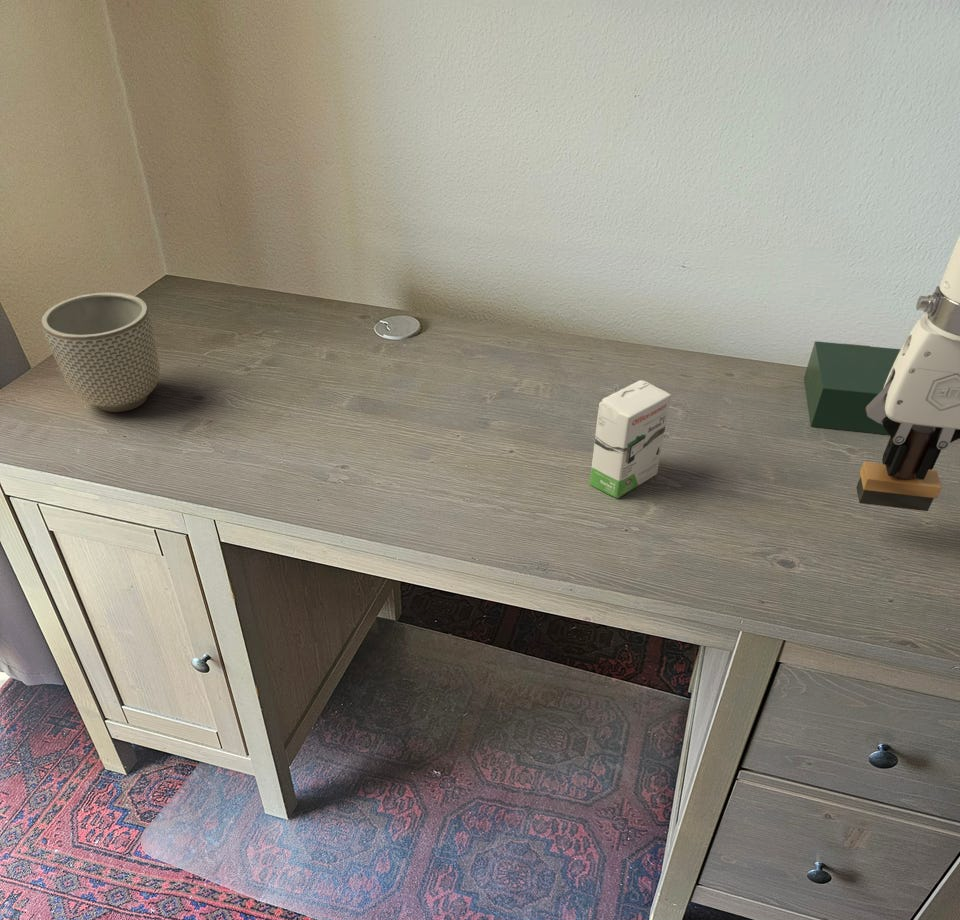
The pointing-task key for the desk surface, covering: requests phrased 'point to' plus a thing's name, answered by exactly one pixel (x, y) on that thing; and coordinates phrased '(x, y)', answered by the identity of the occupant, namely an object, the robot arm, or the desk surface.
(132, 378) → the planter
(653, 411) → the ink box
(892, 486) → the brush
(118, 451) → the desk surface
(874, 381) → the enamel box
